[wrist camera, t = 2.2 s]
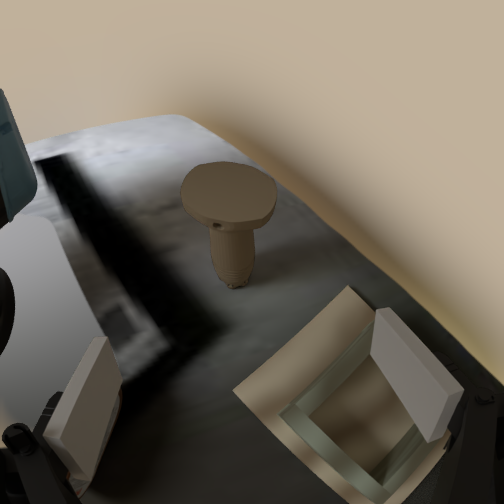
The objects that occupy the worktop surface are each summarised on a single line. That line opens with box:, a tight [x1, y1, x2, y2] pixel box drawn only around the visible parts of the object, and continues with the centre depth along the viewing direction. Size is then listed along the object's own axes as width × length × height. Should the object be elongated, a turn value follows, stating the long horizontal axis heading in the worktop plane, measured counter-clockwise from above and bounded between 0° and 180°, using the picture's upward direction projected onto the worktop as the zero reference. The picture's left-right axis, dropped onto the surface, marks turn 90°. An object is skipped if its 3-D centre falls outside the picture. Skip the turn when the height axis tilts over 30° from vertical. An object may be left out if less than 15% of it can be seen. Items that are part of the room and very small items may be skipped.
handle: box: [180, 161, 277, 289], centre depth 28 cm, size 5×6×15 cm
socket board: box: [233, 285, 451, 504], centre depth 25 cm, size 22×16×6 cm
